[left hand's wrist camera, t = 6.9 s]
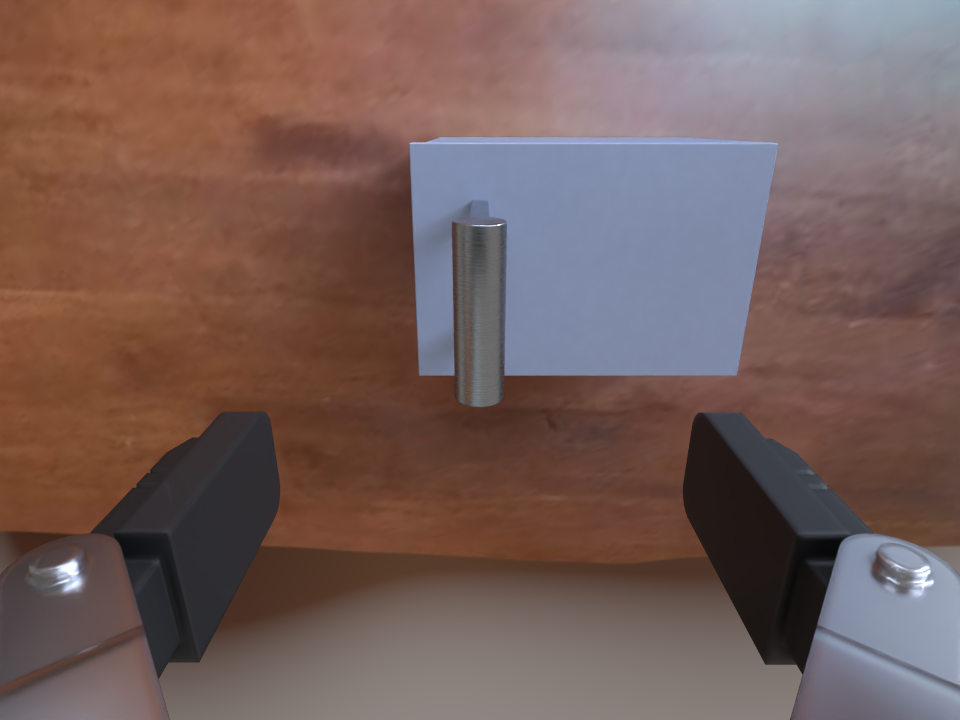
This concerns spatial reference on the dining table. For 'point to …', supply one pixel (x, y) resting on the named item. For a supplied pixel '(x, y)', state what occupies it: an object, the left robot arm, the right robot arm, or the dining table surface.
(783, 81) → the dining table surface
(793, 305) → the dining table surface
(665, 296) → the grey box lid
